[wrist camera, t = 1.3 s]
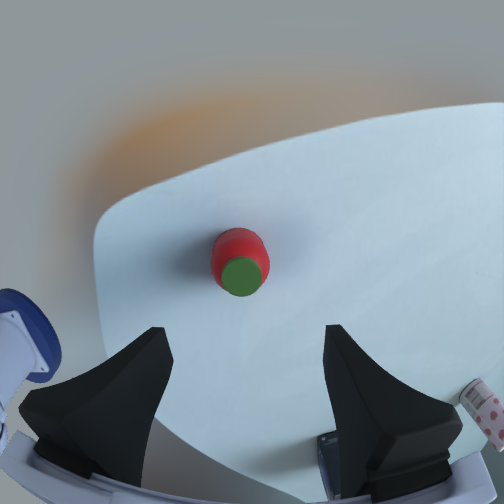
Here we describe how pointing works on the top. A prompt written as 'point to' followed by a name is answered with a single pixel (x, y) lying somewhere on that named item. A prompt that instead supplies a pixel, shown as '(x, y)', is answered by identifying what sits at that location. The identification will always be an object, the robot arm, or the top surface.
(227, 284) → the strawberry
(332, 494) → the small box
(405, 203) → the top surface
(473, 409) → the beverage can
